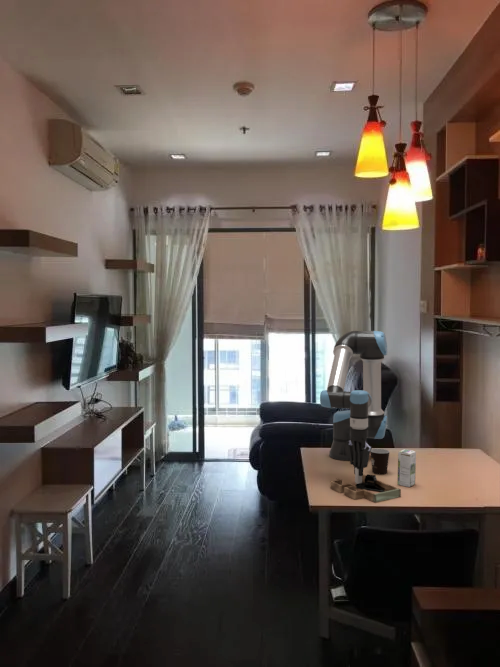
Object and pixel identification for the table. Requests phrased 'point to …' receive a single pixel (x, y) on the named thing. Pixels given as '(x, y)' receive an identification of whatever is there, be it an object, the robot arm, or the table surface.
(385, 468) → the coffee mug
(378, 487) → the black notched block
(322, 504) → the table surface
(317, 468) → the table surface
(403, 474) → the syrup box
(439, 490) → the table surface
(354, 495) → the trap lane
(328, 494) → the table surface
